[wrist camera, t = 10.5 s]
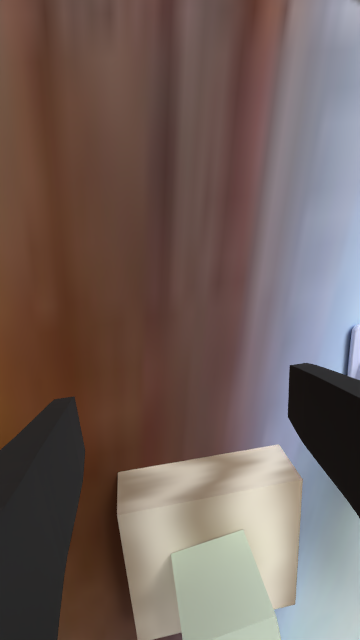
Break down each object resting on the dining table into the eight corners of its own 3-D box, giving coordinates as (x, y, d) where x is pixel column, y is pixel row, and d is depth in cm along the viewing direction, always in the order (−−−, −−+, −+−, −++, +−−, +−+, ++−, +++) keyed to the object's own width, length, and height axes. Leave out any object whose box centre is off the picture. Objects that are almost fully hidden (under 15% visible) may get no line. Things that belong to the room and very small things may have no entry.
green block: (243, 529, 22) (275, 615, 17) (254, 578, 23) (287, 669, 19) (170, 553, 21) (183, 649, 17) (187, 602, 23) (204, 701, 18)
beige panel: (275, 440, 25) (302, 479, 21) (272, 553, 29) (295, 604, 25) (118, 467, 24) (117, 515, 20) (136, 584, 27) (138, 643, 24)
